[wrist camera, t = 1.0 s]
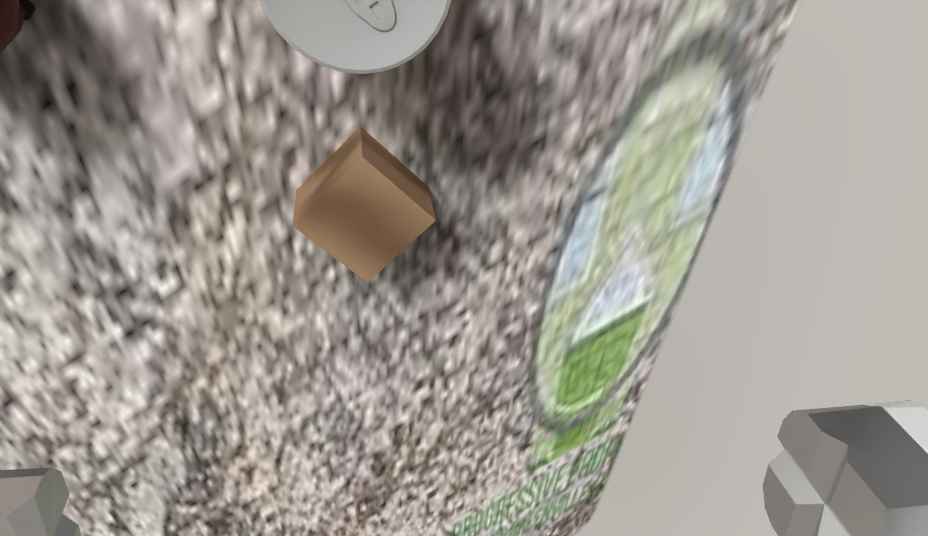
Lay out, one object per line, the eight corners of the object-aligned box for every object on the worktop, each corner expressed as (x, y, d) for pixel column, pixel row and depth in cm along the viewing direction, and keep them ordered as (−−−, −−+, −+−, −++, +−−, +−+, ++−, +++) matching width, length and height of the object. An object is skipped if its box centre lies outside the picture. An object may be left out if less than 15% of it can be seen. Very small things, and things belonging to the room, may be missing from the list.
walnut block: (360, 125, 43) (362, 157, 39) (427, 185, 46) (435, 220, 42) (296, 189, 45) (292, 225, 41) (365, 244, 47) (367, 282, 43)
